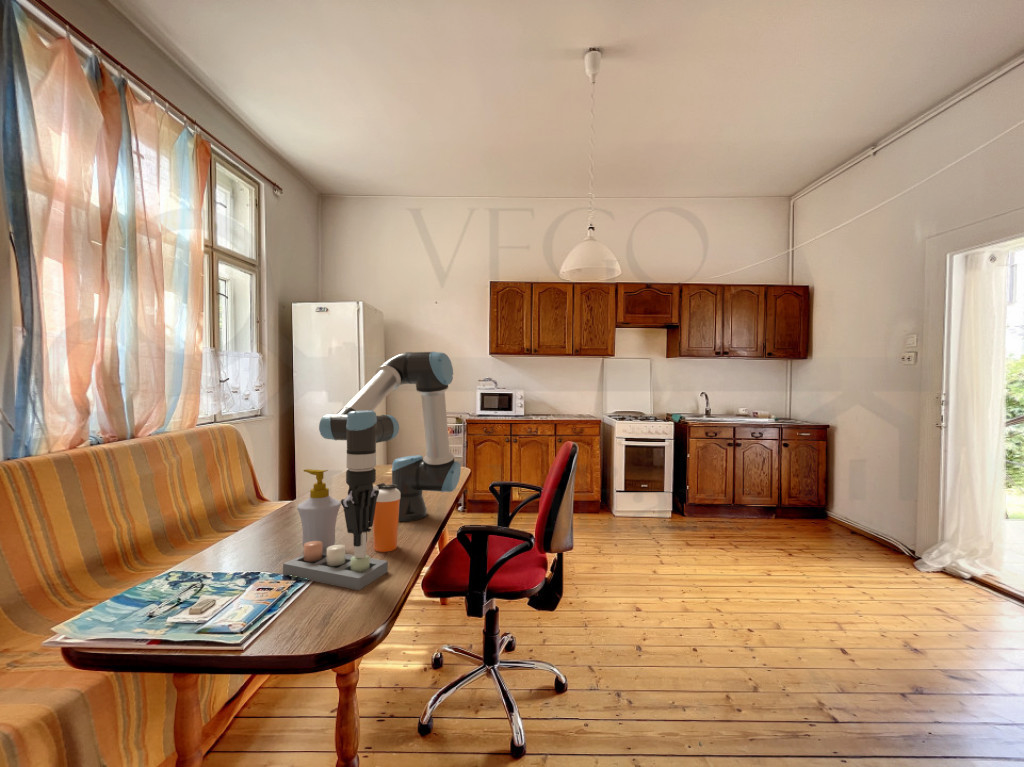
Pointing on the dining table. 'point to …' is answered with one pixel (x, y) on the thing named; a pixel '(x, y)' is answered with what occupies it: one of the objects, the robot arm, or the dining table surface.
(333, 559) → the cream egg
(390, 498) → the shaker bottle
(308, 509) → the soap bottle
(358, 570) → the pale green rounded knob
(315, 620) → the dining table surface
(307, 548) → the brown egg
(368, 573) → the panel
